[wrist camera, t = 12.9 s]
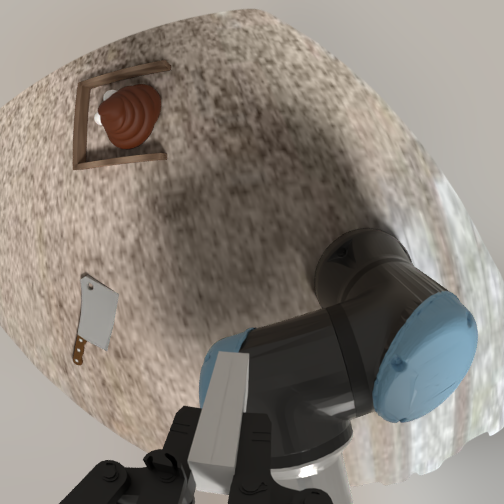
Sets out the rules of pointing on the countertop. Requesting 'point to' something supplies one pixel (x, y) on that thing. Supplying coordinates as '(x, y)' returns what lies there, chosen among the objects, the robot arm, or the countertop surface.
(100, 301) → the kitchen cleaver
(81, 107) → the walnut corral
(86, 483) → the robot arm
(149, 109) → the poop emoji
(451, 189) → the countertop surface
